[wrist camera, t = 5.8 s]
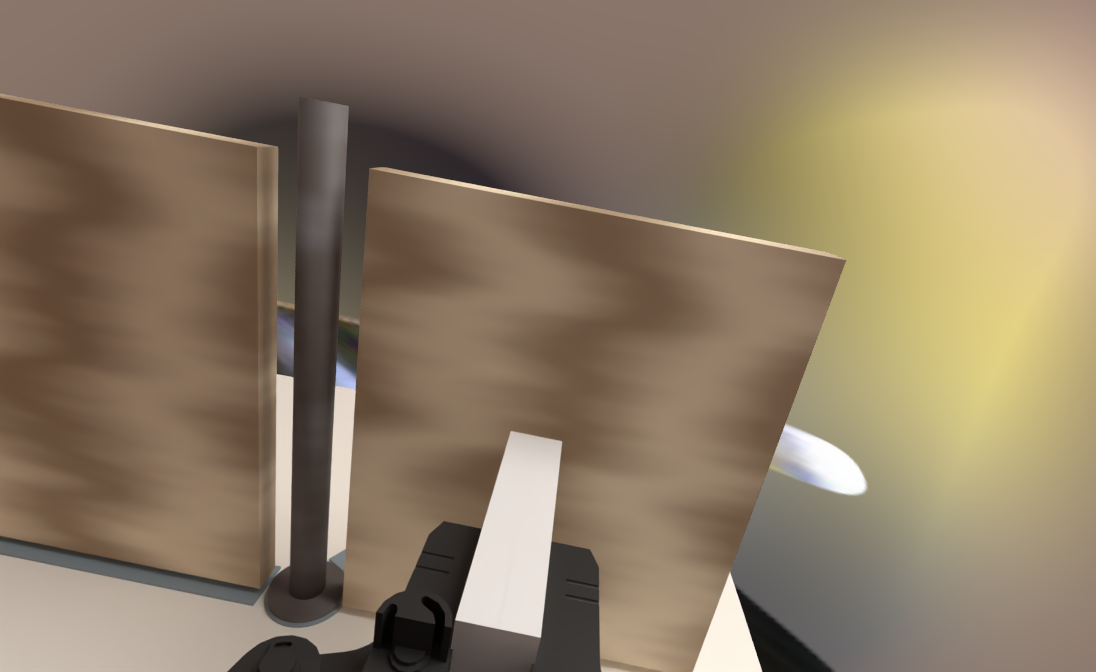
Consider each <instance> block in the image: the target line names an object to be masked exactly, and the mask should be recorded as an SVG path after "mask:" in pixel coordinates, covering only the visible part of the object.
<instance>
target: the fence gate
mask: <svg viewBox="0 0 1096 672" xmlns="http://www.w3.org/2000/svg"><path fill="white" fill-rule="evenodd" d="M845 262H846V260H845V259H842V258H840V257H838V256H836V255H833V254H831V253H827V252H822V251H817V250H812V249H807V248H801V247H796V246H791V245H786V244H781V243H776V242H770V241H764V240H760V239H755V238H750V237H744V236H739V235H734V234H729V233H723V232H718V231H713V230H708V229H703V228H697V227H692V226H687V225H682V224H676V223H671V222H666V221H661V220H656V219H650V218H645V217H640V216H635V215H629V214H625V213H619V212H614V211H608V210H604V209H598V208H593V207H588V206H583V205H578V204H572V203H567V202H562V201H557V200H551V199H546V198H541V197H536V196H531V195H525V194H520V193H515V192H510V191H505V190H500V189H494V188H489V187H484V186H479V185H473V184H468V183H463V182H458V181H453V180H447V179H442V178H437V177H432V176H427V175H421V174H416V173H410V172H406V171H401V170H395V169H390V168H385V167H382V168H372V169H369V185H368V202H367V218H366V234H365V249H364V265H363V281H362V282H363V283H362V297H361V314H360V329H359V345H358V361H357V377H356V393H355V409H354V425H353V441H352V457H351V473H350V489H349V505H348V521H347V537H346V553H345V569H344V585H343V601H342V606H346V607H351V608H356V609H361V610H366V611H371V612H376V611H377V610H378V609H379V607H380V606H381V605H382V603H383V602H384V601H385V600H387V599H388V598H390V597H391V596H393V595H394V594H396V593H399V592H403V591H405V589H406V587H407V584H408V582H409V580H410V577H411V575H412V573H413V570H414V569H415V567H416V563H417V561H418V559H419V556H420V554H421V553H422V549H423V547H424V545H425V542H426V540H427V538H428V535H429V534H430V533H431V532H432V531H433V530H434V529H435V528H436V527H438V526H439V525H440V524H441V523H442V522H443V521H446V522H451V523H456V524H461V525H466V526H471V527H476V528H481V529H482V527H483V524H484V520H485V517H486V514H487V510H488V507H489V503H490V500H491V497H492V493H493V490H494V487H495V483H496V480H497V476H498V473H499V470H500V466H501V463H502V459H503V456H504V453H505V449H506V446H507V442H508V439H509V436H510V432H511V431H513V432H518V433H523V434H528V435H533V436H538V437H543V438H548V439H553V440H558V441H562V448H561V457H560V467H559V476H558V485H557V494H556V503H555V512H554V521H553V531H552V540H551V541H552V542H557V543H562V544H567V545H572V546H577V547H582V548H586V549H590V550H591V552H592V554H593V556H594V558H595V560H596V562H597V564H598V566H599V619H600V659H605V660H610V661H615V662H620V663H625V664H630V665H635V666H640V667H644V668H649V669H654V670H659V671H664V672H693V670H694V667H695V664H696V662H697V659H698V656H699V654H700V651H701V648H702V646H703V643H704V640H705V638H706V635H707V632H708V630H709V627H710V624H711V622H712V619H713V616H714V613H715V611H716V608H717V605H718V603H719V600H720V597H721V595H722V592H723V589H724V587H725V584H726V581H727V579H728V576H729V573H730V571H731V568H732V565H733V562H734V560H735V557H736V554H737V552H738V549H739V546H740V543H741V541H742V538H743V536H744V533H745V530H746V528H747V525H748V522H749V520H750V517H751V514H752V511H753V509H754V506H755V503H756V500H757V498H758V495H759V493H760V490H761V487H762V485H763V482H764V479H765V477H766V474H767V471H768V469H769V466H770V463H771V461H772V458H773V455H774V453H775V450H776V447H777V444H778V442H779V439H780V436H781V434H782V431H783V428H784V426H785V423H786V420H787V417H788V415H789V412H790V410H791V407H792V404H793V402H794V399H795V396H796V393H797V391H798V388H799V385H800V383H801V380H802V377H803V374H804V372H805V369H806V366H807V364H808V361H809V359H810V356H811V353H812V350H813V348H814V345H815V343H816V340H817V337H818V334H819V332H820V329H821V326H822V324H823V321H824V318H825V316H826V313H827V310H828V307H829V305H830V302H831V299H832V297H833V294H834V291H835V289H836V286H837V283H838V281H839V278H840V275H841V273H842V270H843V267H844V265H845Z"/></svg>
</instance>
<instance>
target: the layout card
mask: <svg viewBox="0 0 1096 672" xmlns="http://www.w3.org/2000/svg"><path fill="white" fill-rule="evenodd" d="M355 393H356V390H354V389H349V388H344V387H339V386H335V402H334V423H333V443H332V464H331V485H330V506H329V527H328V547H327V561H328V562H331V563H333V564H335V565H337V566H338V567H339V568H340V569H341V570H342V571H343V572H344V569H345V553H346V537H347V521H348V505H349V489H350V473H351V457H352V441H353V425H354V409H355ZM292 429H293V377H288V376H283V375H278V374H277V376H276V521H275V569H274V570H273V572H272V573H271V574H270V576H269V577H268V578H267V580H266V581H265V582H264V583H263V585H262V586H261V587H260V589H258V588H253V587H249V586H244V585H239V584H234V583H229V582H224V581H219V580H214V579H209V578H205V577H200V576H195V575H190V574H185V573H180V572H175V571H170V570H165V569H161V568H156V567H151V566H146V565H141V564H136V563H131V562H126V561H121V560H117V559H112V558H107V557H102V556H97V555H92V554H87V553H82V552H77V551H73V550H68V549H63V548H58V547H53V546H48V545H43V544H38V543H33V542H29V541H24V540H19V539H14V538H9V537H4V536H0V672H227V671H228V670H229V669H230V668H231V667H232V666H233V665H234V664H235V663H236V662H237V661H238V660H240V659H241V658H242V657H243V656H244V655H245V654H246V653H247V652H248V651H250V650H251V649H252V648H254V647H255V646H256V645H258V644H259V643H261V642H264V641H266V640H269V639H271V638H274V637H276V636H287V635H295V636H299V637H303V638H307V639H308V640H309V641H310V642H312V643H313V644H314V645H315V646H317V649H318V651H319V654H327V653H337V652H346V651H351V650H356V649H359V648H361V647H364V646H366V645H369V644H370V643H372V642H373V639H374V628H375V617H376V612H371V611H366V610H361V609H356V608H351V607H346V606H342V601H343V600H342V601H341V603H340V604H339V605H338V607H337V608H336V609H334V610H333V611H332V612H331V613H329V614H328V615H326V616H324V617H322V618H320V619H317V620H315V621H311V622H306V623H291V622H286V621H283V620H281V619H279V618H277V617H276V616H274V615H273V614H272V612H271V611H270V609H269V607H268V602H267V593H268V588H269V585H270V583H271V581H272V580H273V579H274V577H275V576H276V575H277V574H278V573H279V572H281V571H282V570H283V569H285V568H286V567H288V566H290V536H291V483H292ZM600 666H601V672H664V671H659V670H654V669H649V668H644V667H640V666H635V665H630V664H625V663H620V662H615V661H610V660H605V659H600ZM693 672H762V670H761V667H760V664H759V661H758V658H757V654H756V651H755V648H754V645H753V642H752V639H751V636H750V633H749V630H748V626H747V623H746V620H745V617H744V614H743V611H742V608H741V605H740V602H739V599H738V595H737V592H736V589H735V586H734V583H733V580H732V577H731V574H730V573H729V576H728V579H727V581H726V584H725V587H724V589H723V592H722V595H721V597H720V600H719V603H718V605H717V608H716V611H715V613H714V616H713V619H712V622H711V624H710V627H709V630H708V632H707V635H706V638H705V640H704V643H703V646H702V648H701V651H700V654H699V656H698V659H697V662H696V664H695V667H694V670H693Z"/></svg>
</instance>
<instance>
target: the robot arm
mask: <svg viewBox="0 0 1096 672" xmlns="http://www.w3.org/2000/svg"><path fill="white" fill-rule="evenodd" d="M561 448H562V441H558V440H553V439H548V438H543V437H538V436H533V435H528V434H523V433H518V432H513V431H511V432H510V436H509V439H508V442H507V446H506V449H505V453H504V456H503V459H502V463H501V466H500V470H499V473H498V476H497V480H496V483H495V487H494V490H493V493H492V497H491V500H490V503H489V507H488V510H487V514H486V517H485V520H484V524H483V527H482V529H481V528H476V527H471V526H466V525H461V524H456V523H451V522H446V521H443V522H442V523H441V524H440V525H439V526H438V527H436V528H435V529H434V530H433V531H432V532H431V533H430V534H429V535H428V538H427V540H426V542H425V545H424V547H423V549H422V553H421V554H420V556H419V559H418V561H417V563H416V567H415V569H414V570H413V573H412V575H411V577H410V580H409V582H408V584H407V587H406V589H405V591H403V592H399V593H396V594H394V595H393V596H391V597H390V598H388V599H387V600H385V601H384V602H383V603H382V605H381V606H380V607H379V609H378V610H377V611H376V617H375V628H374V639H373V642H372V643H370V644H369V645H366V646H364V647H361V648H359V649H356V650H351V651H346V652H337V653H327V654H319V651H318V649H317V646H315V645H314V644H313V643H312V642H310V641H309V640H308V639H307V638H303V637H299V636H295V635H287V636H276V637H274V638H271V639H269V640H266V641H264V642H261V643H259V644H258V645H256V646H255V647H254V648H252V649H251V650H250V651H248V652H247V653H246V654H245V655H244V656H243V657H242V658H241V659H240V660H238V661H237V662H236V663H235V664H234V665H233V666H232V667H231V668H230V669H229V670H228V671H227V672H601V666H600V619H599V566H598V564H597V562H596V560H595V558H594V556H593V554H592V552H591V550H590V549H586V548H582V547H577V546H572V545H567V544H562V543H557V542H552V541H551V540H552V531H553V521H554V512H555V503H556V494H557V485H558V476H559V467H560V457H561Z"/></svg>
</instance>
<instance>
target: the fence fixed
mask: <svg viewBox="0 0 1096 672" xmlns="http://www.w3.org/2000/svg"><path fill="white" fill-rule="evenodd" d="M348 109H349V106H345V105H340V104H335V103H329V102H324V101H319V100H314V99H308V98H303V97H299V111H298V114H299V115H298V162H297V163H298V164H297V166H298V167H297V216H296V217H297V218H296V271H295V272H296V273H295V322H294V376H293V429H292V483H291V536H290V566H288V567H286V568H285V569H283V570H282V571H281V572H279V573H278V574H277V575H276V576H275V577H274V579H273V580H272V581H271V583H270V585H269V588H268V593H267V602H268V607H269V609H270V611H271V612H272V614H273V615H274V616H276V617H277V618H279V619H281V620H283V621H286V622H291V623H306V622H311V621H315V620H317V619H320V618H322V617H324V616H326V615H328V614H329V613H331V612H332V611H333V610H334V609H336V608H337V607H338V605H339V604H340V603H341V601H342V600H343V585H344V572H343V571H342V570H341V569H340V568H339V567H338V566H337V565H335V564H333V563H331V562H328V561H327V547H328V527H329V506H330V485H331V464H332V443H333V423H334V402H335V381H336V360H337V339H338V319H339V297H340V277H341V256H342V235H343V214H344V213H343V212H344V194H345V172H346V151H347V131H348ZM277 219H278V147H275V146H270V145H265V144H260V143H255V142H249V141H244V140H239V139H234V138H229V137H223V136H218V135H213V134H208V133H203V132H197V131H192V130H187V129H182V128H177V127H171V126H166V125H161V124H155V123H150V122H145V121H140V120H135V119H129V118H124V117H119V116H113V115H109V114H104V113H98V112H93V111H88V110H83V109H78V108H72V107H67V106H62V105H57V104H52V103H46V102H40V101H36V100H31V99H25V98H20V97H15V96H9V95H4V94H0V536H4V537H9V538H14V539H19V540H24V541H29V542H33V543H38V544H43V545H48V546H53V547H58V548H63V549H68V550H73V551H77V552H82V553H87V554H92V555H97V556H102V557H107V558H112V559H117V560H121V561H126V562H131V563H136V564H141V565H146V566H151V567H156V568H161V569H165V570H170V571H175V572H180V573H185V574H190V575H195V576H200V577H205V578H209V579H214V580H219V581H224V582H229V583H234V584H239V585H244V586H249V587H253V588H258V589H260V587H261V586H262V585H263V583H264V582H265V581H266V580H267V578H268V577H269V576H270V574H271V573H272V572H273V570H274V569H275V521H276V376H277V229H278V228H277V226H278V225H277V224H278V222H277V221H278V220H277Z"/></svg>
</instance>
